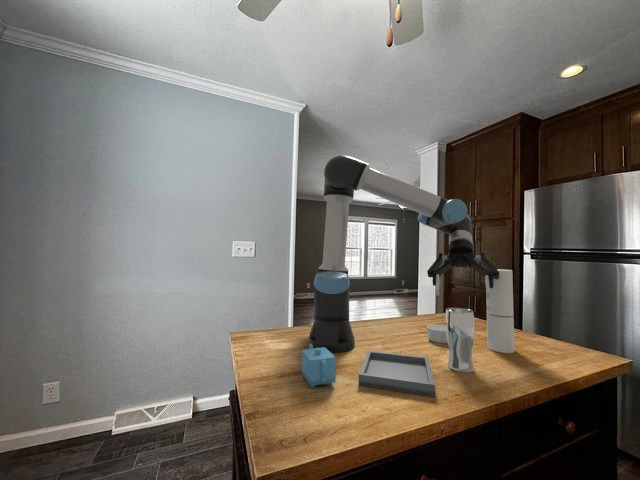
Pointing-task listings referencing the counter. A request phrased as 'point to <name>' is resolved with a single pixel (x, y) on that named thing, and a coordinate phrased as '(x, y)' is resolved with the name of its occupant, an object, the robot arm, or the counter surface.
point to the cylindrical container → (501, 314)
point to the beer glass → (460, 338)
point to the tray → (397, 373)
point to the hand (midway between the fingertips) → (461, 294)
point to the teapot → (318, 366)
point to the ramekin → (437, 333)
